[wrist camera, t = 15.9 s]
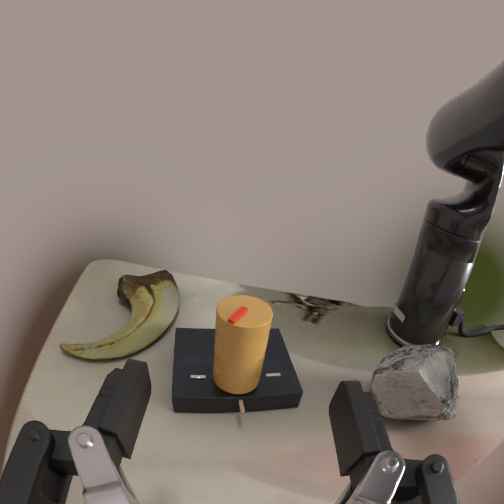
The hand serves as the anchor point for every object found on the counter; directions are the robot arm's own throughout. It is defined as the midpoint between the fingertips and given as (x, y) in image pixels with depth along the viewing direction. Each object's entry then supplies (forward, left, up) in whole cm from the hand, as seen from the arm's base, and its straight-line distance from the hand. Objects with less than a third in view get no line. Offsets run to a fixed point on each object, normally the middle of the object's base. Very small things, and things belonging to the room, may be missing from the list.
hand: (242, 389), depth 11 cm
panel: (-2, -13, -14) cm, 19 cm away
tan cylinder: (-2, -11, -11) cm, 16 cm away
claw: (+10, -22, -14) cm, 28 cm away
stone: (-19, -5, -14) cm, 24 cm away
